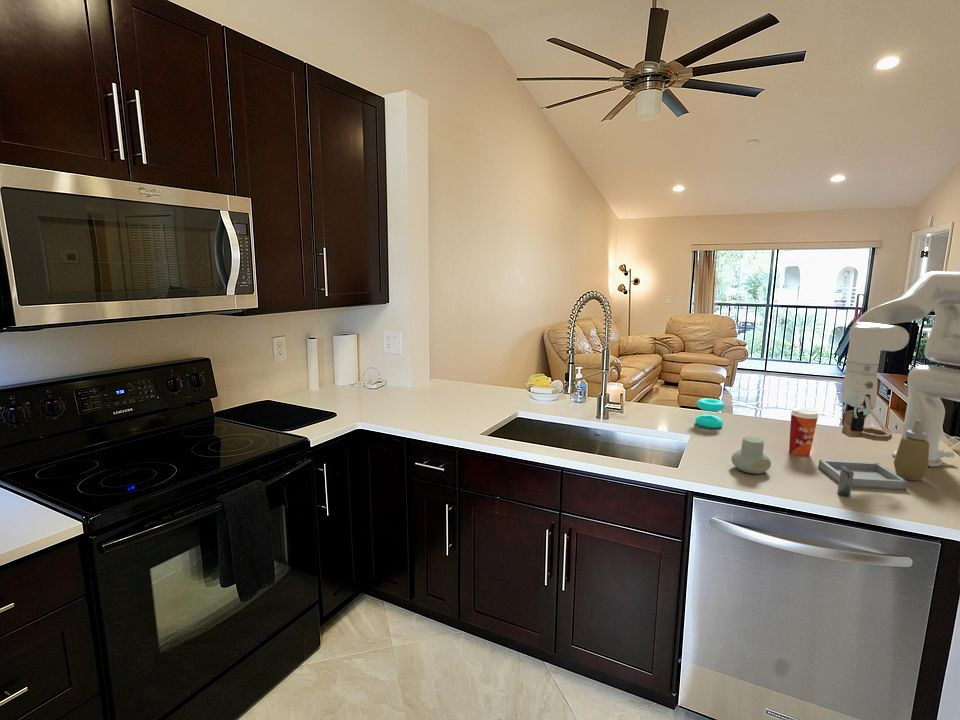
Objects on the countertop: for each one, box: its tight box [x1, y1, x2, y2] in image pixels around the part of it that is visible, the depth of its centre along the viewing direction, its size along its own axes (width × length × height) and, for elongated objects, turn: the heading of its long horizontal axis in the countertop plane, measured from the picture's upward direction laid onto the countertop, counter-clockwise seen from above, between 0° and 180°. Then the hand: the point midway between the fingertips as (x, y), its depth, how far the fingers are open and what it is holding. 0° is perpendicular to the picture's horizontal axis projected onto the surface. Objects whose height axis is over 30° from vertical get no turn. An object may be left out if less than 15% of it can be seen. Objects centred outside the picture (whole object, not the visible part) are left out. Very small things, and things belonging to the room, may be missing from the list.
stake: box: [836, 466, 854, 498], centre depth 145 cm, size 3×4×7 cm
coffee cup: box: [788, 407, 820, 457], centre depth 175 cm, size 8×8×15 cm
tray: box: [818, 459, 909, 491], centre depth 156 cm, size 17×14×2 cm
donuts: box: [695, 397, 726, 429], centre depth 204 cm, size 10×10×10 cm
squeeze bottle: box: [893, 420, 929, 482], centre depth 156 cm, size 8×8×18 cm
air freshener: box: [731, 436, 772, 475], centre depth 161 cm, size 11×8×10 cm
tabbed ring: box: [841, 410, 893, 442], centre depth 153 cm, size 12×8×7 cm
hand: (852, 427), depth 154 cm, fingers closed on tabbed ring, 3 cm apart
